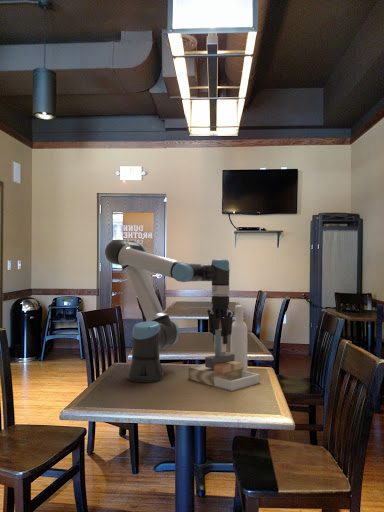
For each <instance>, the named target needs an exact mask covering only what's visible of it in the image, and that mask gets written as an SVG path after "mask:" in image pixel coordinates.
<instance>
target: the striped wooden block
mask: <svg viewBox="0 0 384 512" xmlns="http://www.w3.org/2000/svg"><path fill="white" fill-rule="evenodd" d="M242 371H243V367H242V369H238V370H231V371H230V372H226V373H220V372H216V371H214V368H213V369H211V368H207V367H205V363H202V364H201V363H200V364H198V365H192V366H188V380H191V381H194V382H198V383H202V384H205V385H209V386H213V387H215V386H214V377H218V378H221V379H225V380H229V381H231V380H235V379H239V378H242Z"/></svg>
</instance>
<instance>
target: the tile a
mask: <svg viewBox="0 0 384 512" xmlns="http://www.w3.org/2000/svg"><path fill="white" fill-rule="evenodd" d="M214 371H216V372H220V373H226V372H230V371H231V365H228V364H224V363H220V364H215V365H214Z"/></svg>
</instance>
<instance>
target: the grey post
mask: <svg viewBox="0 0 384 512" xmlns="http://www.w3.org/2000/svg"><path fill="white" fill-rule="evenodd" d="M221 335H222V328H219V329H216V330H215V352H214V355H210V356H205V363H204V364H205V367H207V368H211V369H213V368H214V365H215V364H220V363H224V364H225V362H229V361H234V359H235V354H231V353H230V352H226V351H225V352H221Z"/></svg>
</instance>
